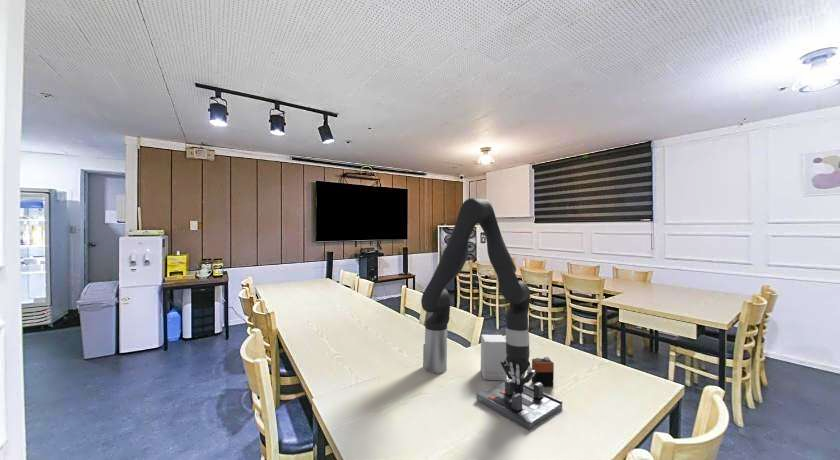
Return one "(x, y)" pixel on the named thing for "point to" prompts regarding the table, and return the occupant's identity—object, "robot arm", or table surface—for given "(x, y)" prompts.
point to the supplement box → (493, 357)
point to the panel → (531, 409)
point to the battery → (543, 371)
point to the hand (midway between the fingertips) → (518, 394)
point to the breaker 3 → (538, 390)
